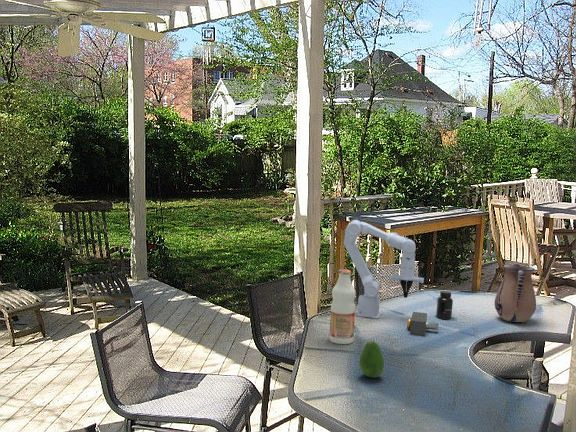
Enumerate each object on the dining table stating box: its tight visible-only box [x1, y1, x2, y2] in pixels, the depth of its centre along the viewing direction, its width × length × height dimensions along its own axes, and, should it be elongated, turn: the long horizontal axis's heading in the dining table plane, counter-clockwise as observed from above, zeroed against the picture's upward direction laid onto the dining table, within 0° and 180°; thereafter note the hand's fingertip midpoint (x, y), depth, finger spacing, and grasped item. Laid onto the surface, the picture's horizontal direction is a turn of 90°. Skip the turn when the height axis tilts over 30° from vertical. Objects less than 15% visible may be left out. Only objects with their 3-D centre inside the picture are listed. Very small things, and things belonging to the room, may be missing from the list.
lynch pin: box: [406, 318, 439, 331], centre depth 250 cm, size 12×4×4 cm, turn 75°
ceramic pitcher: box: [494, 263, 537, 323], centre depth 268 cm, size 18×21×25 cm
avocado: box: [359, 340, 385, 379], centre depth 196 cm, size 8×8×12 cm
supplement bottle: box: [435, 290, 454, 321], centre depth 270 cm, size 7×7×12 cm
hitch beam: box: [409, 311, 428, 337], centre depth 250 cm, size 6×14×6 cm, turn 165°
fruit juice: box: [328, 268, 356, 345], centre depth 231 cm, size 9×9×28 cm
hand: (405, 297), depth 266 cm, fingers closed
